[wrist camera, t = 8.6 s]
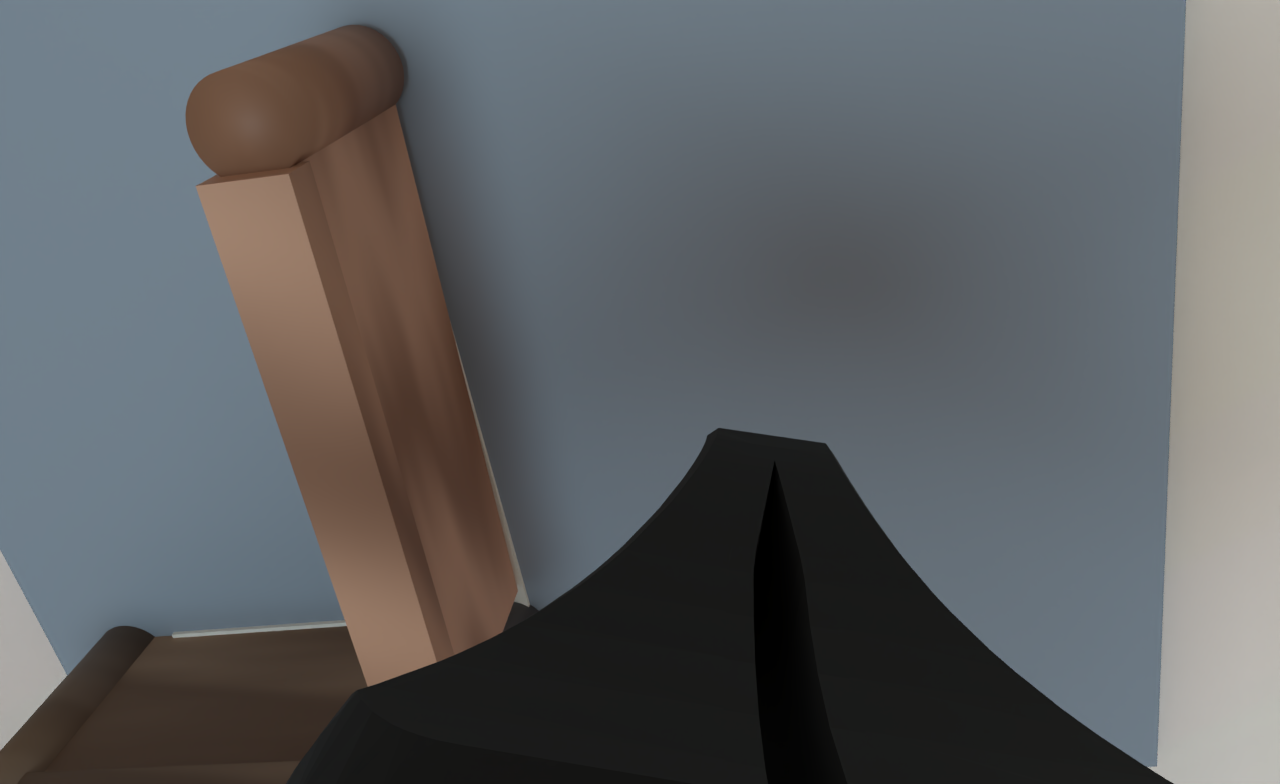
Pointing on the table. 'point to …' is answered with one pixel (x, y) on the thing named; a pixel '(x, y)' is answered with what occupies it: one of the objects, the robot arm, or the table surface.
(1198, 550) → the table surface
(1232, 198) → the table surface
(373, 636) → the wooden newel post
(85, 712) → the dark brown wooden bar
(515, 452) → the board
